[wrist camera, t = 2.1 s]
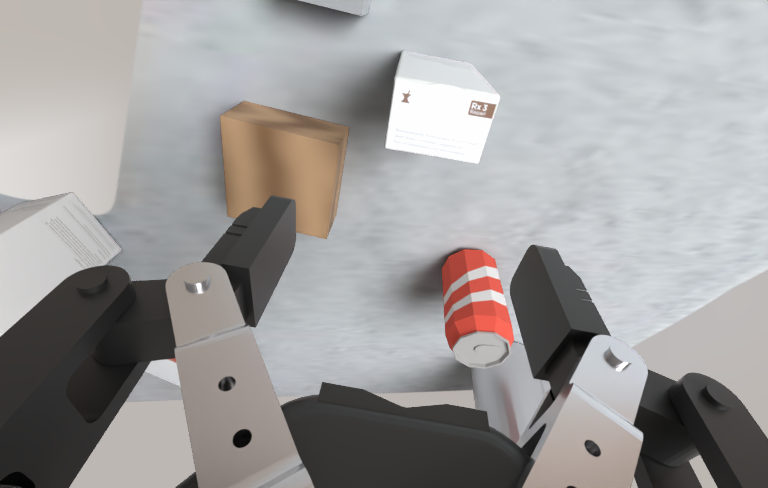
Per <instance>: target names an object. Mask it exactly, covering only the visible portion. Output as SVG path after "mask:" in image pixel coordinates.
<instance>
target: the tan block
mask: <svg viewBox="0 0 768 488" xmlns="http://www.w3.org/2000/svg"><path fill="white" fill-rule="evenodd" d="M220 123H221V136H222V149H223V162H224V176H225V189H226V202H227V215H228V216H229V217H233V218H237V217H238V216H239V215H240V214H241V213H243V212H245V211H247V210H248V209H250V208H252V207H257V208H262V207H263V205H264V204H265V203H266V201H267V200H268V199H269V197H270V196H271V195H274V196H279V197H284V198H290V199H294V200H295V202H296V232H298V233H302V234H307V235H311V236H315V237H320V238H324V239H327V236H328V234H329V231H330V229H331V226H332V224H333V221H334V219H335V216H336V213H337V206H338V200H339V193H340V187H341V180H342V173H343V167H344V160H345V154H346V147H347V141H348V134H349V128H350V127H347V126H343V125H339V124H335V123H331V122H327V121H323V120H319V119H315V118H311V117H307V116H303V115H299V114H295V113H291V112H287V111H283V110H279V109H275V108H271V107H267V106H263V105H259V104H255V103H251V102H247V101H243V102H242V103H240V104H238V105H237V106H235V107H234V108H232V109H230V110H229V111H227V112H225V113H224V114H222V115H220Z"/></svg>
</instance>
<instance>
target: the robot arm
mask: <svg viewBox="0 0 768 488" xmlns="http://www.w3.org/2000/svg"><path fill="white" fill-rule="evenodd" d="M295 240H296V202H295V200H294V199H290V198H284V197H279V196H274V195H271V196H270V197H269V199H268V200H267V201H266V203H265V204H264V205H263V207H262V208H257V207H252V208H250V209H248V210H247V211H245V212H243V213H241V214H240V215H239V216H238V217H237V219H236V220H235V221H234V222H233V224H232V226H230V227H229V228H228V230H227V231H226V234H224V235H223V236H222V237H221V238H220V240H219V241H218V242H217V243H216V244H215V246H214V247H213V248H212V249H211V251H210V252H209V253H208V254H207V256H206V257H205V258H204V259H203V261H202V262H198V263H192V264H189V265H186V266H183V267H181V268H179V269H177V270H176V271H174V272H173V273H172V274H171V275H170V276H169V278H168V279H164V280H148V281H131V280H130V277H129V275H128V273H127V272H126V271H125V270H124V269H122V268H120V267H116V266H108V265H106V266H95V267H91V268H87V269H84V270H81V271H78V272H76V273H74V274H72V275H70V276H69V277H67V278H66V279H65V280H63V281H62V282H61V283H60V284H59V285H58V286H56V287H55V288H54V289H53V290H52V291H51V292H50V293H49V294H48V295H46V296H45V297H44V298H43V299H42V300H41V301H40V302H39V303H37V304H36V305H35V306H34V307H33V308H32V309H31V310H30V311H28V312H27V313H26V314H25V315H24V316H23V317H22V318H21V319H19V320H18V321H17V322H16V323H15V324H14V325H13V326H12V327H11V328H9V329H8V330H7V331H6V332H5V333H4V334H3V335H2V336H0V488H69V487H70V485H71V483H72V482H73V480H74V479H75V477H76V476H77V474H78V473H79V471H80V470H81V468H82V467H83V465H84V464H85V462H86V461H87V459H88V457H89V456H90V454H91V453H92V451H93V450H94V448H95V447H96V445H97V444H98V442H99V441H100V439H101V438H102V436H103V434H104V433H105V431H106V430H107V428H108V427H109V425H110V424H111V422H112V421H113V419H114V418H115V416H116V415H117V413H118V411H119V410H120V408H121V407H122V405H123V404H124V402H125V401H126V399H127V398H128V396H129V395H130V393H131V392H132V390H133V388H134V387H135V385H136V384H137V382H138V381H139V379H140V378H141V376H142V375H143V373H144V372H145V370H146V369H147V367H148V365H149V364H150V362H151V361H156V360H165V359H174V358H176V364H177V369H178V375H179V380H180V386H181V392H182V397H183V403H184V408H185V414H186V419H187V424H188V430H189V436H190V442H191V448H192V453H193V459H194V464H195V470H196V472H194V473H193V474H192V475H191V476H189V477H188V478H187V479H186V480H184V481H183V482H182V483H181V484H179V485H178V486H177V487H176V488H631V485H632V481H633V477H635V480H636V483H637V486H638V488H702V486H701V484H700V482H699V480H698V478H697V476H696V474H695V473H694V471H693V469H692V467H691V465H690V463H689V460H691V459H692V458H694V457H696V456H698V455H701V457H702V459H703V461H704V463H705V464H706V466H707V468H708V470H709V472H710V474H711V476H712V477H713V479H714V481H715V483H716V485H717V487H718V488H768V438H767V437H766V436H765V434H764V433H763V432H762V430H761V429H760V427H759V426H758V424H757V423H756V421H755V420H754V419H753V417H752V416H751V415H750V413H749V412H748V410H747V409H746V407H745V406H744V405H743V403H742V402H741V401H740V400H739V399H738V398H737V396H735V395H734V394H733V393H732V392H731V391H730V390H729V389H727V388H726V387H725V386H723V385H722V384H721V383H719V382H717V381H716V380H714V379H712V378H710V377H708V376H705V375H702V374H698V373H688V374H686V375H685V376H683V377H682V378H681V379H680V380H678V381H677V382H676V381H674V380H672V379H669V378H667V377H665V376H662V375H660V374H658V373H655V372H653V371H650V370H648V369H647V366H646V364H645V362H644V361H643V359H642V357H641V356H640V355H639V354H638V353H637V352H636V351H635V350H634V349H633V348H632V347H630V346H629V345H628V344H626V343H625V342H623V341H621V340H619V339H617V338H615V337H612V336H611V335H610V333H609V331H608V329H607V328H606V326H605V324H604V322H603V320H602V318H601V316H600V314H599V312H598V311H597V309H596V307H595V305H594V303H592V299H591V297H590V295H589V294H588V292H586V288H585V286H584V284H583V282H582V280H581V279H580V277H579V276H578V275H577V274H576V273H575V272H574V271H573V270H572V269H571V268H570V267H569V266H565V265H564V263H563V261H562V259H561V257H560V255H559V253H558V251H557V250H556V249H553V248H548V247H543V246H537V245H531V246H530V247H529V248H528V250H527V251H526V253H525V255H524V257H523V259H522V261H521V263H520V265H519V266H518V268H517V270H516V272H515V274H514V276H513V278H512V281H511V285H510V296H511V299H512V303H513V307H514V310H515V314H516V318H517V321H518V325H519V328H520V332H521V336H522V339H523V343H524V345H522V344H520V343H516V342H513V343H512V345H511V347H510V350H511V355H510V356H509V357H508V358H507V359H506V360H505V361H504V362H503V363H502V364H499V365H496V366H493V367H489V368H474V367H471V377H472V383H473V392H474V400H475V409H471V408H465V407H459V406H454V405H448V404H444V405H433V406H422V407H411V408H405V407H401V406H399V405H396V404H394V403H392V402H390V401H388V400H386V399H383V398H381V397H379V396H377V395H374V394H372V393H370V392H368V391H366V390H363V389H358V388H352V387H347V386H341V385H335V384H330V383H324V382H322V386H321V389H320V393H319V395H311V396H306V397H301V398H298V399H295V400H292V401H290V402H287V403H285V404H283V405H282V406H280V404H279V401H278V399H277V396H276V393H275V391H274V388H273V385H272V383H271V380H270V377H269V375H268V372H267V369H266V367H265V364H264V361H263V359H262V356H261V353H260V351H259V348H258V345H257V343H256V340H255V337H254V335H253V332H252V330H251V328H250V327H256V326H257V324H258V322H259V320H260V318H261V316H262V314H263V312H264V310H265V308H266V306H267V304H268V302H269V300H270V298H271V295H272V293H273V291H274V289H275V287H276V285H277V283H278V281H279V279H280V277H281V275H282V273H283V271H284V269H285V267H286V265H287V263H288V261H289V259H290V257H291V255H292V253H293V250H294V246H295Z"/></svg>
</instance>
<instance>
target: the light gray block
mask: <svg viewBox="0 0 768 488" xmlns="http://www.w3.org/2000/svg"><path fill="white" fill-rule="evenodd" d="M299 1H303V2H307V3H311V4H315V5H319V6H323V7H327V8H331V9H335V10H339V11H343V12H347V13H351V14H355V15H360V16H363V15H365V14H368V13H369V9H370V2H371V0H299Z"/></svg>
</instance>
